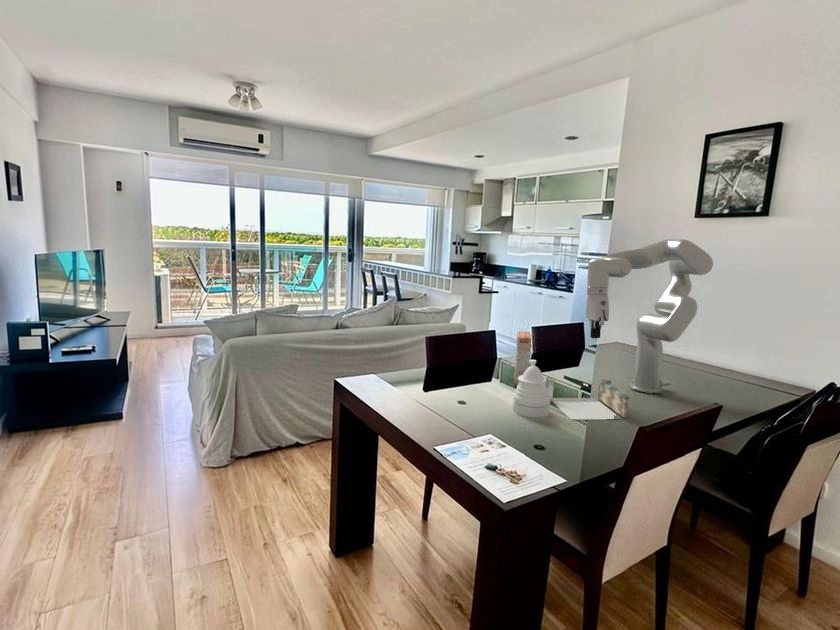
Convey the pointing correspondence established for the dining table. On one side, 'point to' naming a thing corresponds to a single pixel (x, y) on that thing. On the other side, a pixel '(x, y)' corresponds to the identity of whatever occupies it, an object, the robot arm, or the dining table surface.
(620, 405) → the gate
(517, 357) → the cracker box
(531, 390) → the honey pot
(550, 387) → the gate frame
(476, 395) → the dining table surface
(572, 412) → the mat
